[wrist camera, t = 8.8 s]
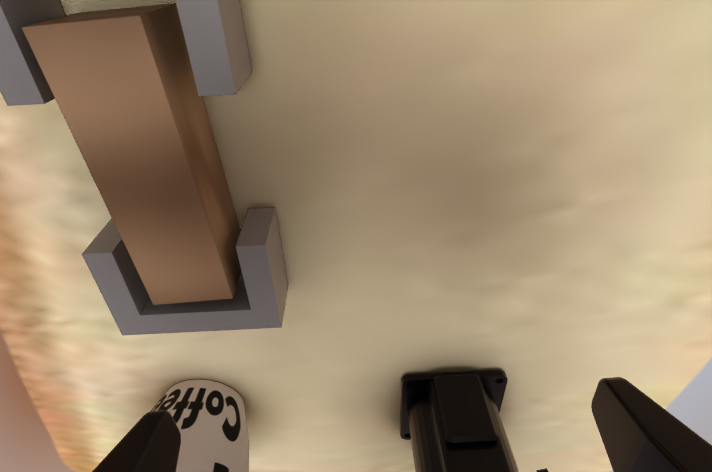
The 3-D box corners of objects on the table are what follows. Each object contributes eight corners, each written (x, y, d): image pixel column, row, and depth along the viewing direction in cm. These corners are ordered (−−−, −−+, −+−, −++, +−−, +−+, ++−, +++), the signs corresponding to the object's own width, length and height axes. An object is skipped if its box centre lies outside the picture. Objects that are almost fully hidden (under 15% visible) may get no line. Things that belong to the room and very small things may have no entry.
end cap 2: (288, 285, 22) (281, 327, 20) (146, 291, 22) (122, 335, 20) (275, 207, 20) (265, 245, 17) (114, 215, 20) (81, 254, 17)
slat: (247, 250, 21) (233, 298, 19) (179, 256, 22) (153, 304, 19) (178, 2, 15) (139, 15, 12) (82, 11, 15) (21, 27, 12)
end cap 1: (-6, -70, 14) (-82, -74, 11) (225, -82, 14) (199, -88, 11) (58, 81, 16) (7, 105, 14) (251, 71, 16) (235, 94, 14)
